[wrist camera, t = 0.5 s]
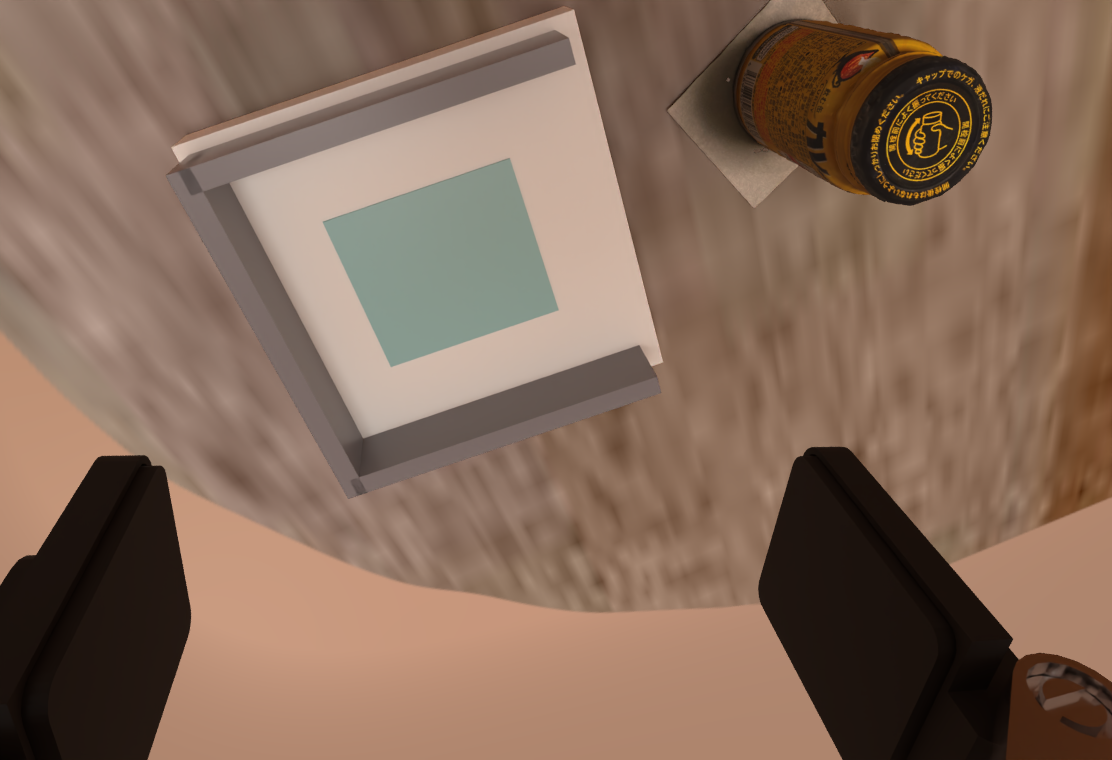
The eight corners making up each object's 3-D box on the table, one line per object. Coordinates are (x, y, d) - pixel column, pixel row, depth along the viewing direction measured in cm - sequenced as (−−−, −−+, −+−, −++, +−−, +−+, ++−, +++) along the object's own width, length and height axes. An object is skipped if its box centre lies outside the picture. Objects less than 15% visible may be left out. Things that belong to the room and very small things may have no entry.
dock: (564, 5, 35) (590, 16, 29) (650, 341, 44) (682, 394, 39) (186, 134, 35) (146, 167, 30) (351, 443, 44) (343, 509, 39)
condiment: (880, 84, 39) (1049, 133, 28) (752, 207, 41) (866, 294, 31) (798, -31, 36) (955, -23, 25) (664, 109, 38) (758, 170, 27)
